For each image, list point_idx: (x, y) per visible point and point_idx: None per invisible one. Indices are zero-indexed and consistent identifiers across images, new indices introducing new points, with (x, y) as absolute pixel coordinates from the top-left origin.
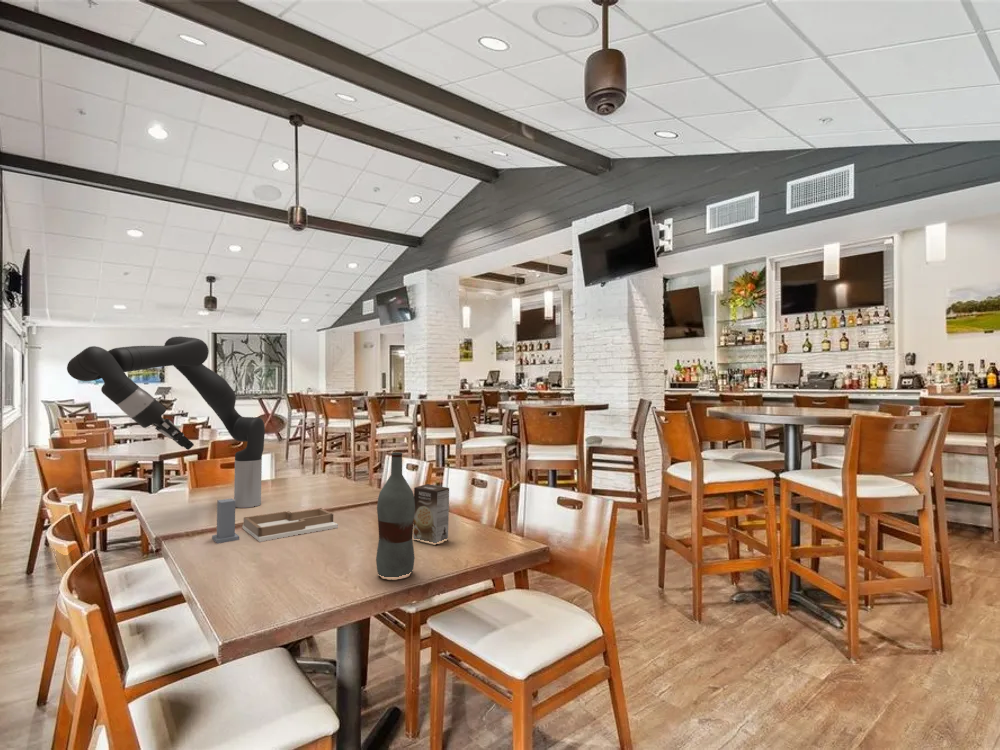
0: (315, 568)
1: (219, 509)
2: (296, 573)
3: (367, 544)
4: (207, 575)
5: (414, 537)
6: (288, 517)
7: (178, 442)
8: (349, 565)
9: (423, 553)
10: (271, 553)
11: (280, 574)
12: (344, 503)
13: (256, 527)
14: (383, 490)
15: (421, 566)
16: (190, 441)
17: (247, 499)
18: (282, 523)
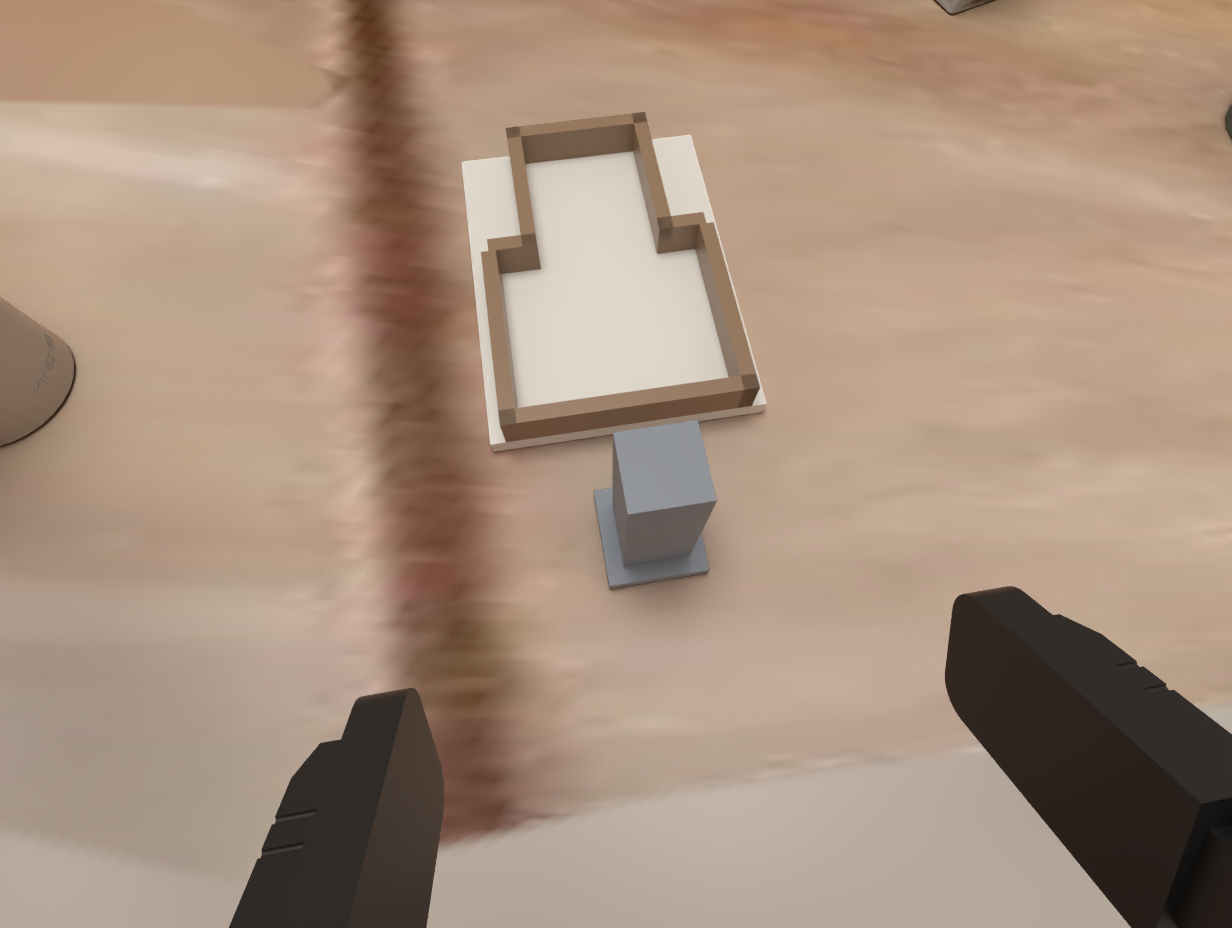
0: (1168, 295)
1: (686, 518)
2: (1208, 352)
3: (944, 120)
4: (1167, 629)
5: (963, 1)
6: (527, 260)
7: (420, 894)
8: (1160, 208)
9: (1092, 30)
10: (946, 392)
11: (1209, 397)
12: (299, 53)
13: (725, 394)
14: None
15: (1212, 66)
16: (1075, 638)
17: (30, 370)
18: (566, 296)
